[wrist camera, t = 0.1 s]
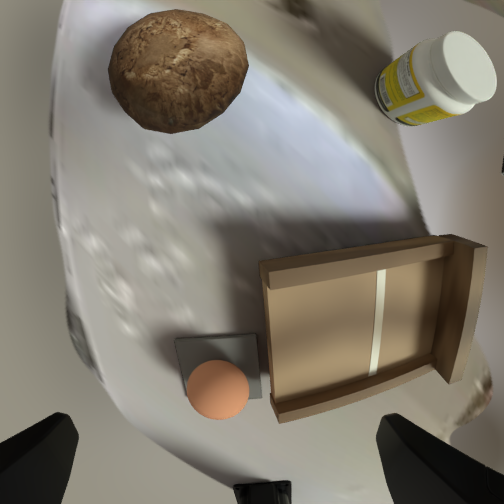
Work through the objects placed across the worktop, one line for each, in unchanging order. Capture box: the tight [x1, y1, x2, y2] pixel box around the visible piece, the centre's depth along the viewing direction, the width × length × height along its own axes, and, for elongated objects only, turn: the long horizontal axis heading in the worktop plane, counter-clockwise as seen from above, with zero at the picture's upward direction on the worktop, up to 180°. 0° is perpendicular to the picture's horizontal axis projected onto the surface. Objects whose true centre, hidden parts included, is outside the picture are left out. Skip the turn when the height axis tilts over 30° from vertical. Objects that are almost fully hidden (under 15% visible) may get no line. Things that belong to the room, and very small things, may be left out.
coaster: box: [174, 333, 262, 402], centre depth 22 cm, size 6×6×1 cm
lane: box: [259, 234, 488, 424], centre depth 19 cm, size 11×16×5 cm
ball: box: [187, 360, 249, 420], centre depth 20 cm, size 4×4×4 cm
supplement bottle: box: [375, 31, 497, 126], centre depth 14 cm, size 5×5×8 cm
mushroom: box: [108, 9, 249, 134], centre depth 14 cm, size 8×8×6 cm
